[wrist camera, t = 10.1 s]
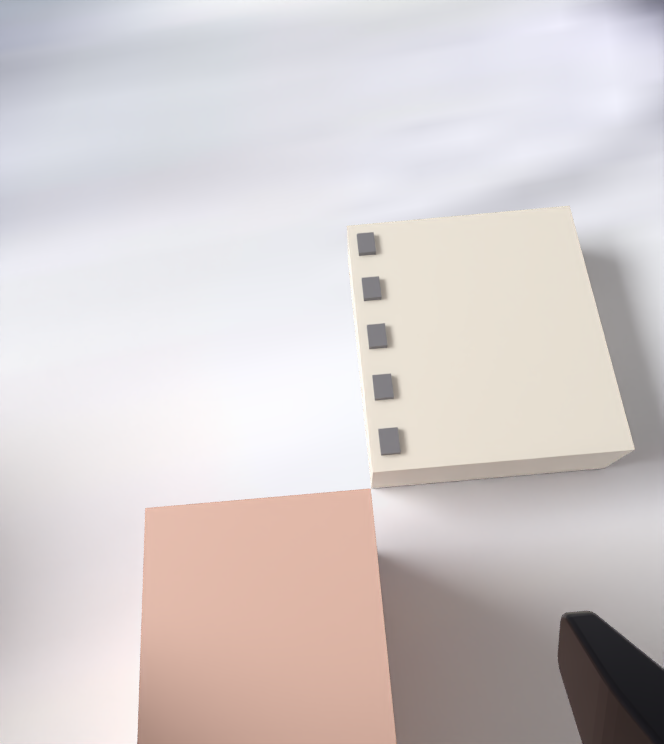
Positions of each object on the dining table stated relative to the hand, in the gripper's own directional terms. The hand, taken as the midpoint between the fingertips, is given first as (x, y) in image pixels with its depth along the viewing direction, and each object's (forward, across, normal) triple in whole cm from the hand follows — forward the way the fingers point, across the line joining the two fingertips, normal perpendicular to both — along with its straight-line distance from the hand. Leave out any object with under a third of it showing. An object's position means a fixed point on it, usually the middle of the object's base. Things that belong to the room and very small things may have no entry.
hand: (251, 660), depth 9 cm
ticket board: (+14, -6, +2) cm, 16 cm away
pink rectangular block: (+7, 0, +9) cm, 11 cm away
